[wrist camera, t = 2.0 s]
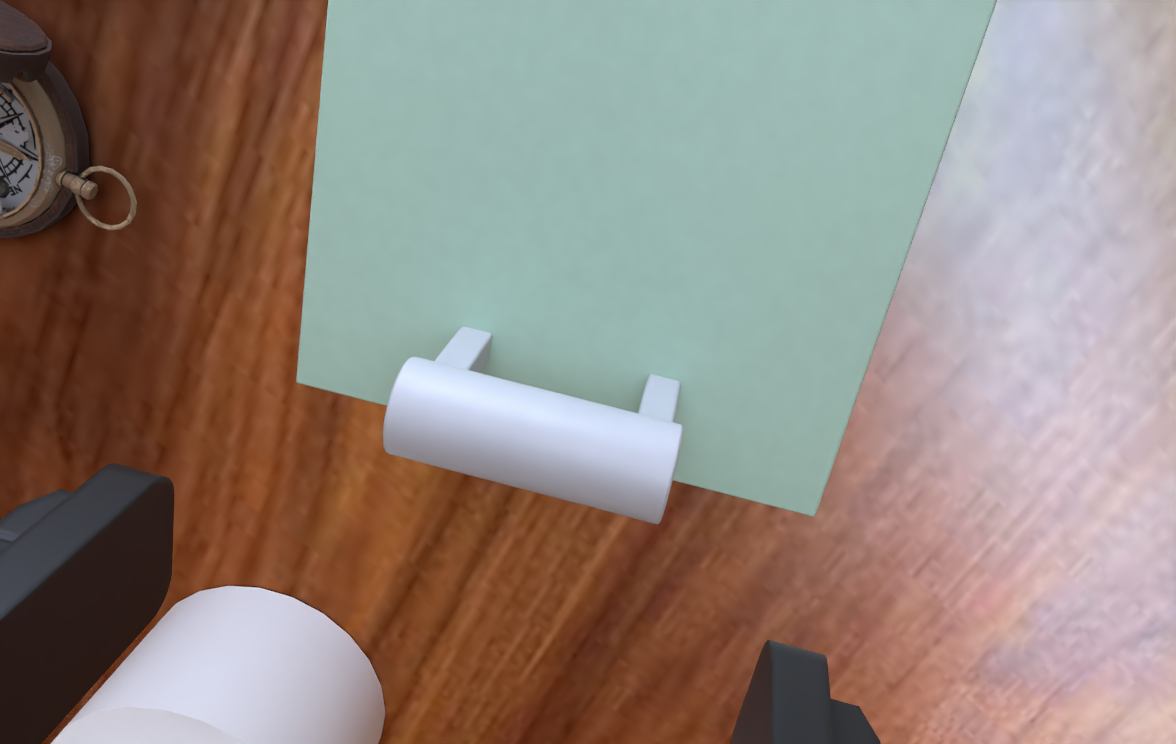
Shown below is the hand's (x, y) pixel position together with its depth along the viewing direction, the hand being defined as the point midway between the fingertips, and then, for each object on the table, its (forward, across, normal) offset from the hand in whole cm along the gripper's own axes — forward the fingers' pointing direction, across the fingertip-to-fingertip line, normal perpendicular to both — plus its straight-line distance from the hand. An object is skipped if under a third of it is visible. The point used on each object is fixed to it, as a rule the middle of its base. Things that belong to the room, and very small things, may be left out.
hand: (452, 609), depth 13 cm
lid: (+9, 0, -5) cm, 10 cm away
